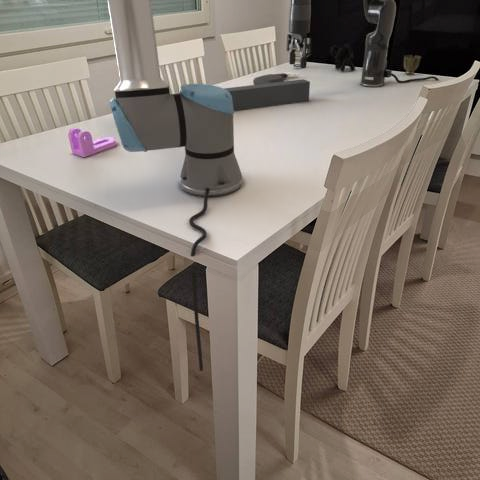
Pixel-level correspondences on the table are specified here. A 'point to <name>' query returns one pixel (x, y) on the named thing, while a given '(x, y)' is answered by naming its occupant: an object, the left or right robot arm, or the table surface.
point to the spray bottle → (273, 78)
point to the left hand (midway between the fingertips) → (126, 47)
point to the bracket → (88, 143)
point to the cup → (411, 63)
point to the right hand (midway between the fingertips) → (297, 66)
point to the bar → (269, 94)
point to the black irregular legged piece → (343, 57)
